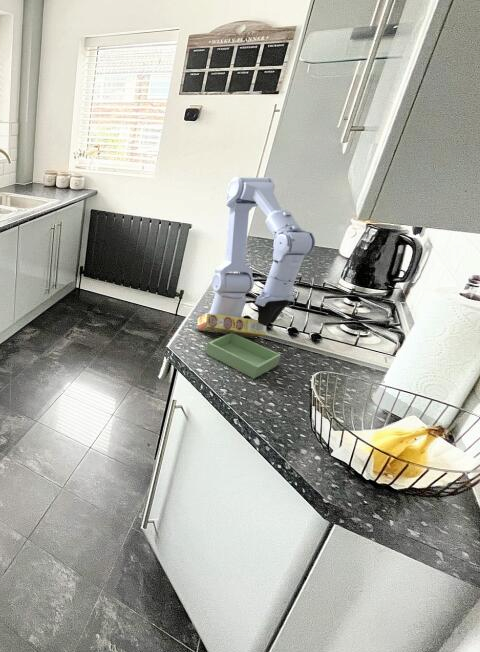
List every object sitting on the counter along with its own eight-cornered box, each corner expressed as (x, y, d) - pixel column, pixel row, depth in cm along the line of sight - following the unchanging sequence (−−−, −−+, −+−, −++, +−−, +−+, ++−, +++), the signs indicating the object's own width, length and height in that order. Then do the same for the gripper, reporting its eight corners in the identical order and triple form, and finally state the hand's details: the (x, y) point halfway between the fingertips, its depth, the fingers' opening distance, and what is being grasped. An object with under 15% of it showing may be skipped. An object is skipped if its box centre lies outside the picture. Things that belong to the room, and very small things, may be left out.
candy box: (267, 320, 117) (207, 312, 121) (266, 335, 116) (205, 326, 120) (254, 324, 125) (198, 316, 129) (253, 339, 125) (196, 330, 129)
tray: (228, 342, 122) (231, 332, 121) (277, 365, 112) (281, 354, 110) (204, 353, 117) (208, 342, 116) (253, 378, 107) (258, 367, 105)
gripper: (283, 288, 102) (266, 336, 108) (313, 276, 108) (295, 322, 114) (253, 278, 107) (239, 324, 113) (283, 267, 114) (268, 311, 120)
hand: (265, 322), depth 114 cm, fingers closed
